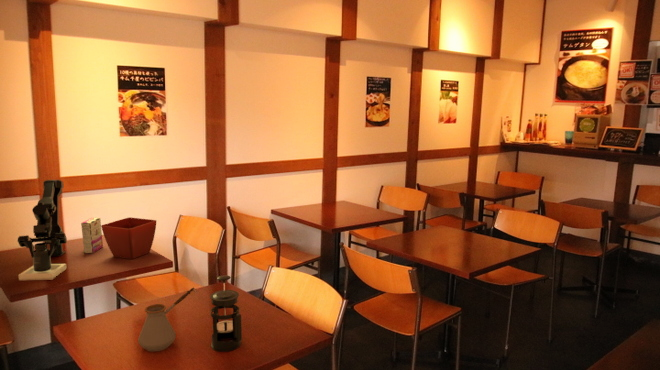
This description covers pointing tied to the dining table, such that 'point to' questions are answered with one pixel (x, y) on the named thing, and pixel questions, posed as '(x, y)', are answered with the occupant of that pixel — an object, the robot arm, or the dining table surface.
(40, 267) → the supplement bottle
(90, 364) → the dining table surface
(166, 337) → the coffee pot
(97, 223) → the candy bar box
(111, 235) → the plant pot
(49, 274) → the tray
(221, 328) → the french press
